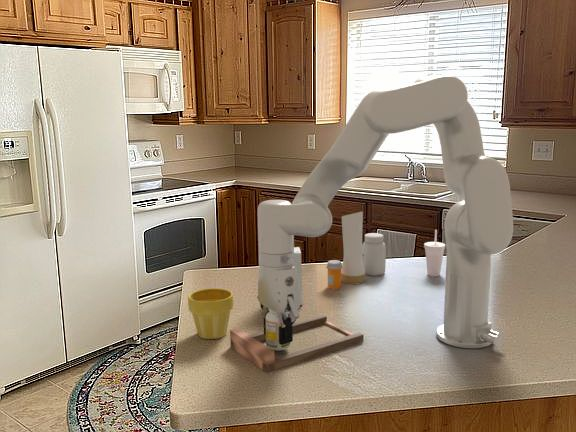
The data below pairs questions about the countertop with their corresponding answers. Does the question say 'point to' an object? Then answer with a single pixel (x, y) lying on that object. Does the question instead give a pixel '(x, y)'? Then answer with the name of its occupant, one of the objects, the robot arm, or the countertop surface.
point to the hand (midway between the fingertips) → (278, 337)
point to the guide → (265, 356)
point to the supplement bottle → (274, 331)
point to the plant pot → (211, 311)
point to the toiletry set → (357, 254)
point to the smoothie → (434, 256)
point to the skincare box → (298, 271)
